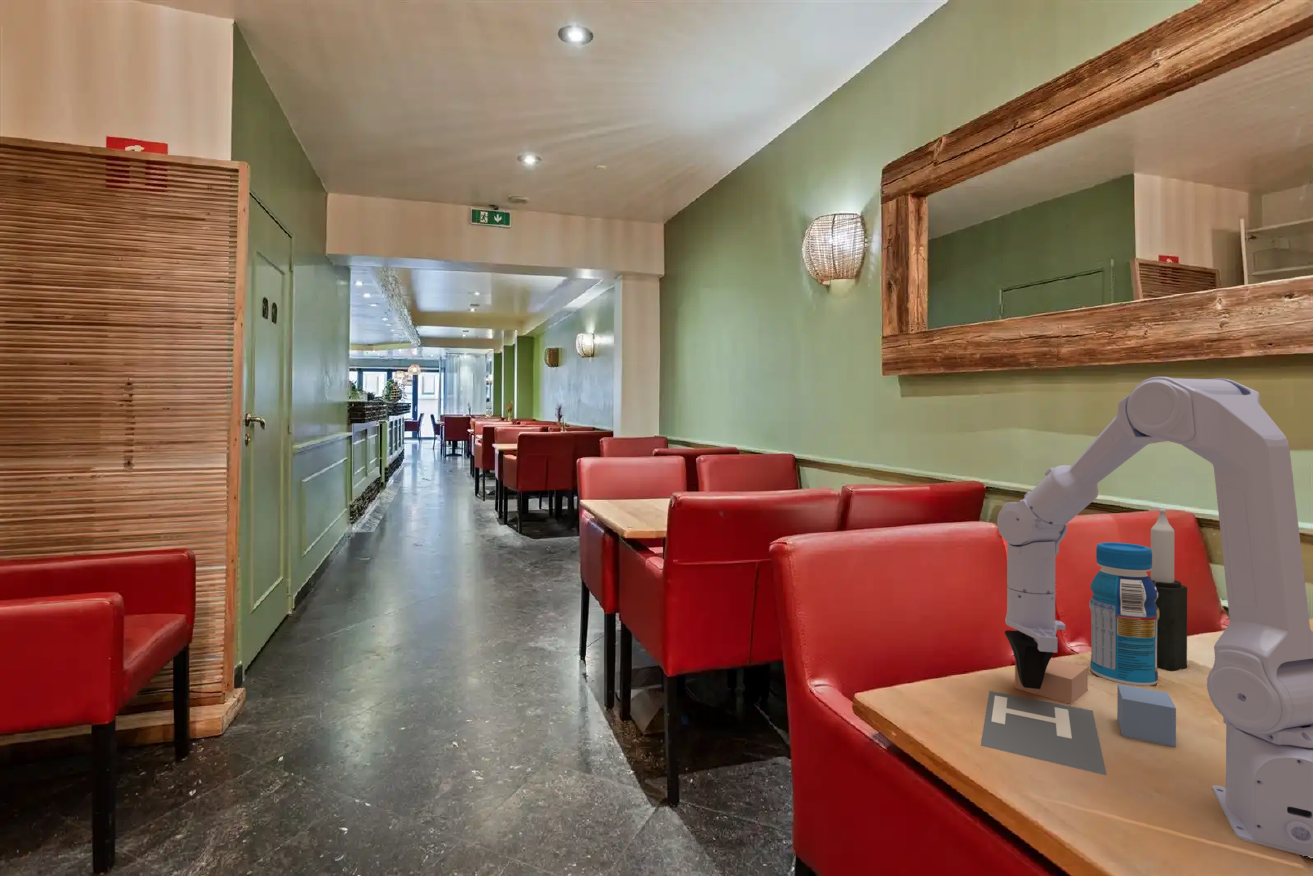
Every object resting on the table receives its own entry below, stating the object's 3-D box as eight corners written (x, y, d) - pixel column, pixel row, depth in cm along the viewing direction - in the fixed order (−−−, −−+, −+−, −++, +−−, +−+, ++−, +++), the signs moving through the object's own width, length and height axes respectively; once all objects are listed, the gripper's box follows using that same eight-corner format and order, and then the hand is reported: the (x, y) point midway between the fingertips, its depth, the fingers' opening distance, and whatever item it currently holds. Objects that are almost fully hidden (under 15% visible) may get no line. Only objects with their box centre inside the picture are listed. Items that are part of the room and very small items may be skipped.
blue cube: (1175, 750, 71) (1176, 708, 71) (1122, 739, 74) (1122, 698, 74) (1167, 733, 76) (1167, 692, 76) (1117, 723, 78) (1117, 684, 78)
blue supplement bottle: (1078, 673, 94) (1078, 543, 94) (1105, 663, 98) (1106, 539, 98) (1142, 693, 87) (1143, 553, 87) (1170, 681, 91) (1170, 547, 91)
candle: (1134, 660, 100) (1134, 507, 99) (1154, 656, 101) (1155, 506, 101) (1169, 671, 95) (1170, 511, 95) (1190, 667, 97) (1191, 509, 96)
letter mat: (1106, 778, 65) (1106, 775, 65) (980, 748, 72) (980, 745, 72) (1092, 712, 81) (1092, 710, 81) (989, 692, 87) (989, 690, 87)
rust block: (1071, 709, 83) (1071, 679, 83) (1015, 692, 88) (1015, 664, 88) (1087, 694, 87) (1087, 666, 87) (1033, 679, 92) (1033, 653, 92)
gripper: (1085, 605, 77) (1084, 713, 77) (1045, 578, 91) (1045, 670, 91) (1021, 601, 79) (1021, 706, 79) (992, 576, 93) (992, 665, 93)
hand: (1030, 686), depth 85 cm, fingers closed
